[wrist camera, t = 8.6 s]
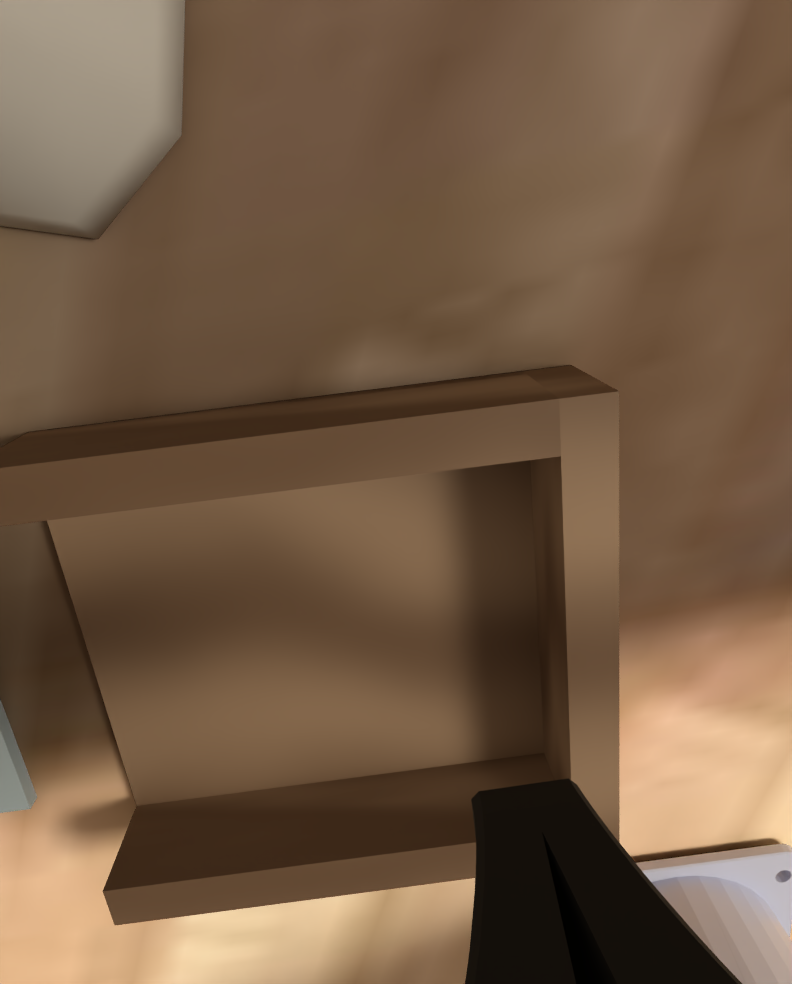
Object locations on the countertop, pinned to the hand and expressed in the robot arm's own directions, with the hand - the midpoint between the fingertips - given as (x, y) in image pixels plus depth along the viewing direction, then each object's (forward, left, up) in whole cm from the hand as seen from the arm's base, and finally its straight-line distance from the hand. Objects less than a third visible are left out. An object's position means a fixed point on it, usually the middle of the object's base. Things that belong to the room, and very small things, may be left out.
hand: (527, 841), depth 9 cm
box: (-2, +4, -9) cm, 10 cm away
